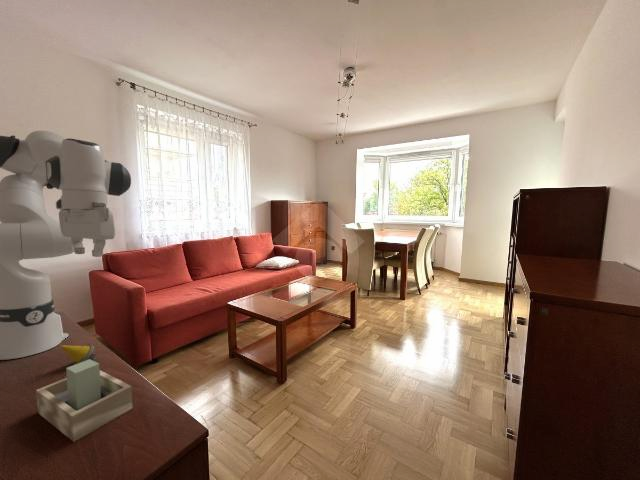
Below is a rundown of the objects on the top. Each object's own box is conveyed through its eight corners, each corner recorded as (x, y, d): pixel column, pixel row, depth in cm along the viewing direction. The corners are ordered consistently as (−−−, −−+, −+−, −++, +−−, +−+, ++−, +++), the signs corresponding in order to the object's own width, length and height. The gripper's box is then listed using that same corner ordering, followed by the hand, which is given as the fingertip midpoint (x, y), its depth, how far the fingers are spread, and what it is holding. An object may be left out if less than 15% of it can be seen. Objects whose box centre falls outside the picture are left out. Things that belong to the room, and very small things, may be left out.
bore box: (37, 412, 56) (36, 390, 56) (94, 386, 65) (93, 366, 65) (73, 442, 49) (72, 416, 49) (132, 408, 58) (131, 386, 57)
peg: (69, 413, 56) (66, 368, 55) (92, 401, 60) (89, 359, 59) (78, 420, 54) (75, 373, 53) (101, 407, 58) (99, 363, 57)
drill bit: (97, 365, 75) (60, 352, 69) (84, 371, 76) (46, 358, 70) (106, 347, 79) (72, 333, 73) (93, 352, 80) (59, 339, 74)
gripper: (121, 203, 68) (123, 256, 69) (81, 204, 77) (84, 251, 78) (91, 201, 62) (94, 259, 63) (52, 202, 71) (55, 253, 72)
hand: (88, 255), depth 71 cm, fingers open, 8 cm apart
